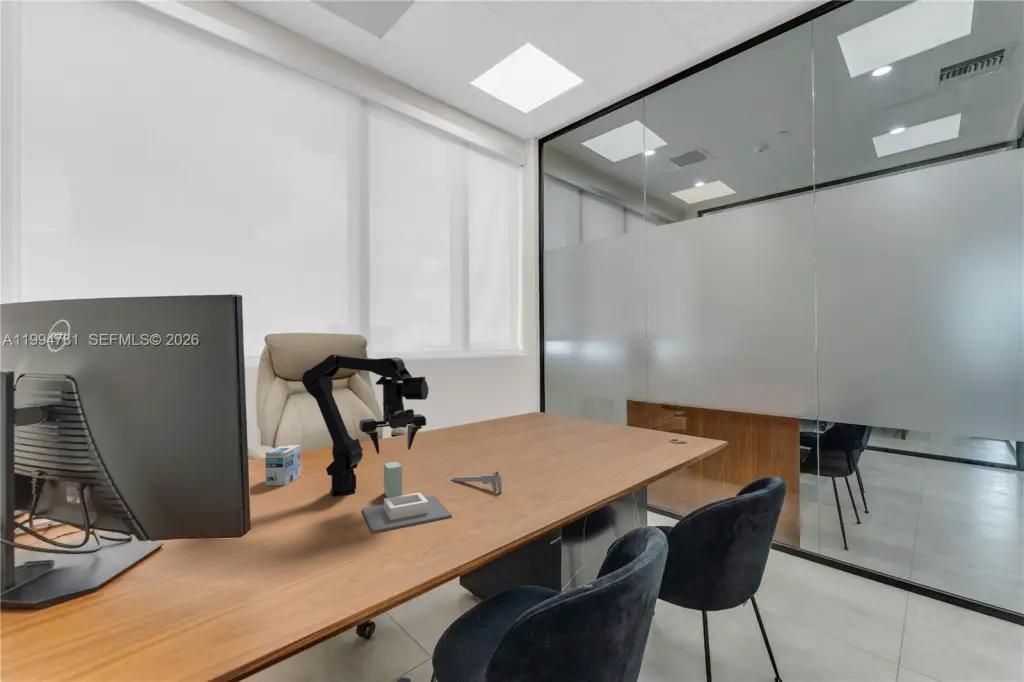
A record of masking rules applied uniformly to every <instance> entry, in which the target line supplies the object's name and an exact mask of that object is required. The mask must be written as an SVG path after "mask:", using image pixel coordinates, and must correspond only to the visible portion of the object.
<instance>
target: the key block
mask: <svg viewBox="0 0 1024 682" xmlns="http://www.w3.org/2000/svg"><path fill="white" fill-rule="evenodd" d="M383 493H384V496H385V498H390V497H396V496H402V495H403V466H402V465H401V464H400V463H399V462H398V461H391V462H385V463H384V462H383Z"/></svg>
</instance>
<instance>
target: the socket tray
mask: <svg viewBox="0 0 1024 682" xmlns="http://www.w3.org/2000/svg"><path fill="white" fill-rule="evenodd" d="M361 511H362V513H363V515H364V517H365V519H366V521H367V523H368V526H369V529H370V531H371V533H372V534H375V533H379V532H385V531H390V530H394V529H398V528H399V529H400V528H404V527H409V526H414V525H415V526H416V525H420V524H424V523H429V522H433V521H438V520H443V519H448V518H452V517H453V514H452V513H451V512H450V511H449V510H448V509H447V508H446V507H445V506H444V505H443V504H442V503H441V501H439V499H438V498H436V497H435V495H429V496H428V495H427V496H424V495H423V494H422V493H421V492H415V493H408V494H402V496H396V497H390V498H387V497H385V498H383V503H382V504H377V505H372V506H367V507H362V510H361Z"/></svg>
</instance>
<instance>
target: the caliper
mask: <svg viewBox="0 0 1024 682" xmlns="http://www.w3.org/2000/svg"><path fill="white" fill-rule="evenodd" d="M450 481H454V482H458V483H465V482H466V483H468V482H469V483H472V482H474V483H476V482H478V483H479V482H480V483H482V485H488V484H490V485H491V488H492V489H493V491H494V492H497V491H498V493H500V492H502V491H503V488H502V487H503V485H502V484H503V481H502V476H501V474H499V471H498V470H497V471H496V470H494V471H492V474H482V475H479V476H454V477H453V478H451V480H450Z"/></svg>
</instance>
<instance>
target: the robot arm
mask: <svg viewBox="0 0 1024 682" xmlns="http://www.w3.org/2000/svg"><path fill="white" fill-rule="evenodd" d="M340 369H347V370H356V371H357V370H358V371H367V372H370V373H373V374H376V375H377V376H380V378H379V380H377V381H376V382H375V385H378V386H379V385H382V410H383V413H382V414H383V415H382V419H383V420H376V419H375V418H367V419H361V420H360V421H359V425H358V426H359V427H358V428H359V430H360V432H362V433H365V434H366V435H368V436H369V438H370V439H371V441H372V444H373V446H374V449H375V452H376V454H377V455H379V454H380V445H379V437H378V436H379V432H378V431H377V428H385V427H387V428H388V427H390V429H392V430H393V429H395V430H396V429H399V428H403V429H405V428H407V442H406V443H407V450H409V451H410V450H411V448H412V445H413V442H414V439H415V437H416V434H417V432H418V431H419V430H421V429H422V428H423V427H424V426H427V419H426V417H425V416H424V415H422V414H418V413H417V414H415V411H414V409H412V408H410V409H406V410H405V406H404V405H405V404H404V399H405V400H409V401H410V400H415V401H417V400H418V401H419V400H420V401H424V400H427V398H428V395H429V386H428V382H427V380H426V376H419V377H417V376H416V377H415V376H412V375H411V373H410V371H408V369H407V368H406V365H405V362H404V361H403V359H402V358H400V357H385V358H384V357H383V358H372V357H371V358H370V357H369V358H368V357H360V356H353V355H344V354H339V353H337V354H330V355H328V356H327V357H326V358H325V359H324V360H322V361H320V362H319V363H318V364H316V365H314V366H313V367H312V368H311V369H308V370H306V371H305V372H303V374H302V377H301V382H302V385H303V386H304V388H305V390H306V392H307V393H308V394H309V395H310V396H312V397H313V398H314V399H315V401H316V402H317V407H319V411H320V413H321V416H322V418H323V420H324V424H325V426H326V428H327V430H328V433H329V436H330V438H331V441H332V450H331V451H332V453H331V454H332V459H333V461H331V462H330V464H329V465H328V466H326V468H325V471H326V473H327V476H331V478H330V479H331V483H330V484H331V485H330V486H331V487H330V493H331V496H332V497H336V496H343V495H349V494H355V493H356V490H357V475H356V473H355V470H354V469H357V468H358V465H359V463H360V462H361V461H362V458H363V455H364V453H363V451H364V448H363V447H362V446H361V444H360V440H359V438H355V439H354V438H352V437H351V436H350V435H349V431H348V429H347V427H346V425H345V423H344V419H343V417H342V415H341V412H340V409H339V407H338V405H337V402H336V400H335V398H334V395H333V386H334V382H333V377H335V376H336V375H337V373H338V372H339V371H340Z"/></svg>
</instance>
